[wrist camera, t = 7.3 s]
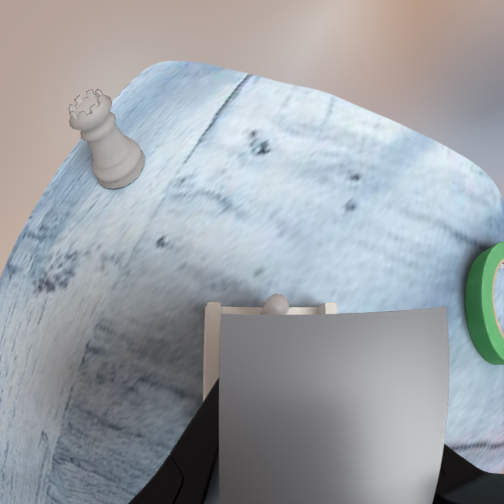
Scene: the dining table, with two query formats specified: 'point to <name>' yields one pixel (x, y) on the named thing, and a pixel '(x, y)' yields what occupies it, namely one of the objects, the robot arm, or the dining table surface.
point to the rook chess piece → (106, 141)
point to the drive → (332, 407)
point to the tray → (215, 309)
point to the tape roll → (485, 305)
